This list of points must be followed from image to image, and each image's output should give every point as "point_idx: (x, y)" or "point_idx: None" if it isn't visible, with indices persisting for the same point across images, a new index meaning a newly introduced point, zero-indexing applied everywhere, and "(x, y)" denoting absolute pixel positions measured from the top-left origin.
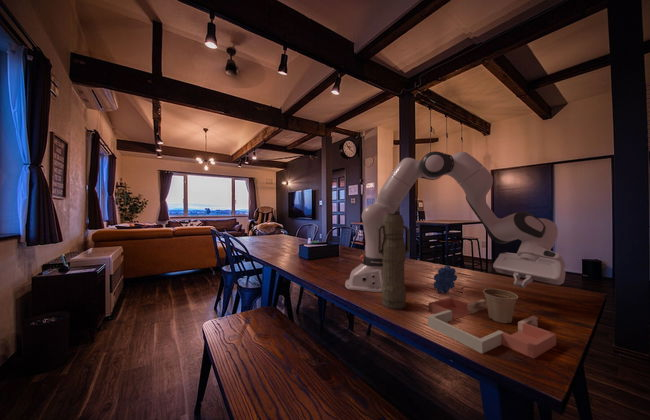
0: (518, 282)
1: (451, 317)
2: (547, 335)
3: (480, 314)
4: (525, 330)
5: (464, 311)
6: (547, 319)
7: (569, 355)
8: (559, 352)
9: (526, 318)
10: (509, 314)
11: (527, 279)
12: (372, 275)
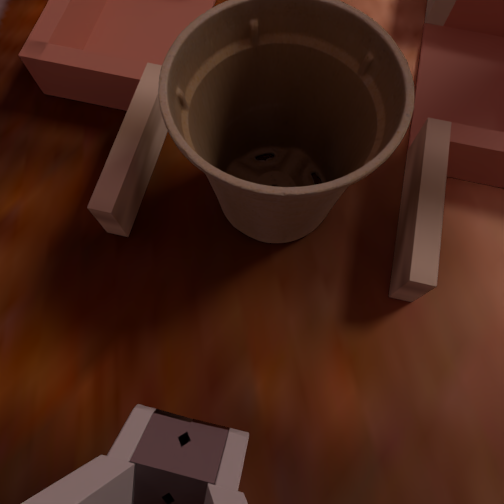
0: (190, 440)
1: (430, 8)
2: (52, 17)
3: (369, 181)
4: None
5: None
6: (56, 410)
7: (11, 48)
8: None
9: (137, 141)
10: (219, 131)
11: (54, 490)
12: None
